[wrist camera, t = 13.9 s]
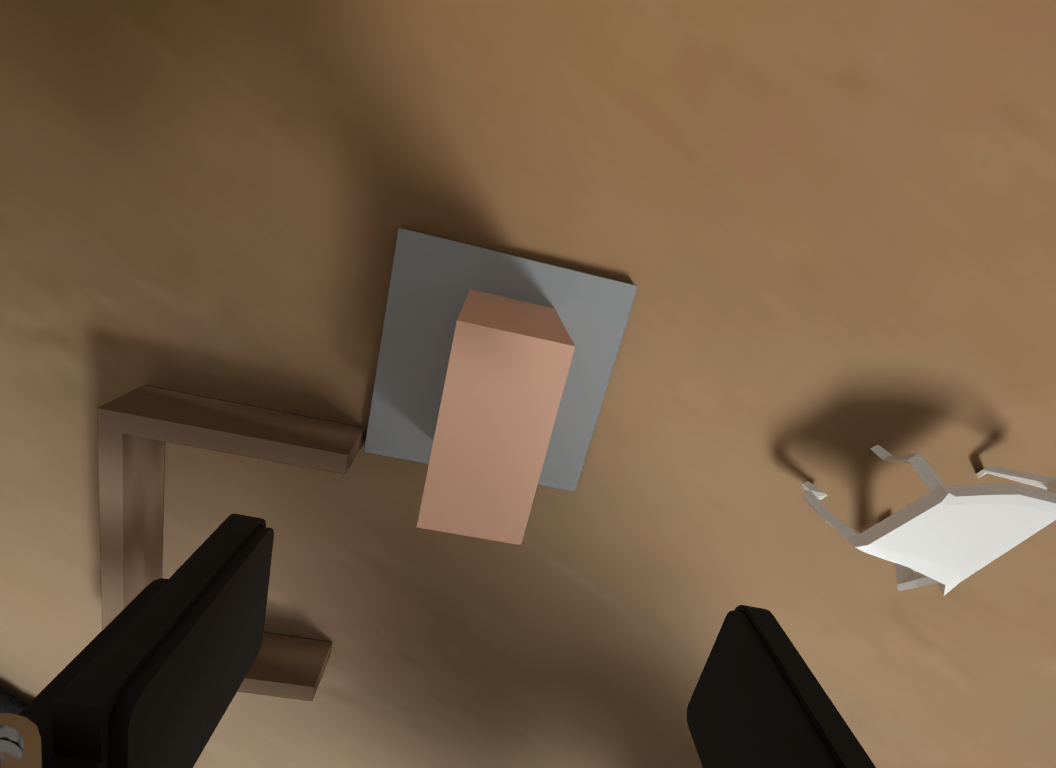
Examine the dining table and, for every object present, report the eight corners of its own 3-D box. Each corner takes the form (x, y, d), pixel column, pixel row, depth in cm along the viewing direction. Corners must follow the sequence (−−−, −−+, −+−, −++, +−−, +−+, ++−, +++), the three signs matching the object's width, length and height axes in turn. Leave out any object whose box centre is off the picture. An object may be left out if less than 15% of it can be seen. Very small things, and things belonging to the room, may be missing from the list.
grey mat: (573, 486, 27) (575, 491, 27) (366, 446, 26) (363, 452, 26) (634, 284, 24) (637, 286, 24) (400, 227, 23) (398, 228, 22)
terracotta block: (554, 308, 24) (575, 346, 17) (516, 460, 26) (521, 545, 19) (469, 289, 23) (456, 320, 17) (438, 445, 26) (416, 527, 19)
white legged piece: (820, 581, 30) (878, 648, 26) (780, 469, 28) (836, 521, 23) (1020, 499, 29) (1119, 554, 25) (998, 375, 27) (1103, 410, 22)
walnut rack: (330, 655, 30) (312, 701, 27) (142, 628, 29) (103, 674, 26) (364, 428, 26) (347, 455, 23) (143, 385, 25) (97, 408, 22)
